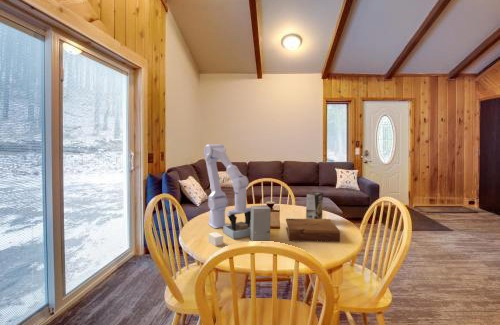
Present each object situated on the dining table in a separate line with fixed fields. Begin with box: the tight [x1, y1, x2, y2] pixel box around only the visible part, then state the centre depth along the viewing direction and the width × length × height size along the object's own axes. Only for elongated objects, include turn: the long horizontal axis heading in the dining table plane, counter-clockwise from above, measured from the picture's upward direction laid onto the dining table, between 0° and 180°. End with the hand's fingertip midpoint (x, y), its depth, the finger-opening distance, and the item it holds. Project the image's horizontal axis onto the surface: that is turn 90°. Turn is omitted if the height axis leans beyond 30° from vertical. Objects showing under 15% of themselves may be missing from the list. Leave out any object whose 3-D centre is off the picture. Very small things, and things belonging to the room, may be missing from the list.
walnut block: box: [234, 221, 248, 232], centre depth 138 cm, size 6×4×4 cm
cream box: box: [208, 231, 224, 247], centre depth 126 cm, size 6×4×4 cm, turn 37°
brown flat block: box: [285, 218, 341, 243], centre depth 137 cm, size 23×19×6 cm
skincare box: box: [249, 205, 271, 242], centre depth 129 cm, size 8×7×16 cm
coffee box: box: [305, 191, 324, 219], centre depth 158 cm, size 9×6×16 cm
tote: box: [222, 220, 251, 240], centre depth 140 cm, size 11×18×3 cm, turn 123°
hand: (240, 227), depth 139 cm, fingers open, 7 cm apart
